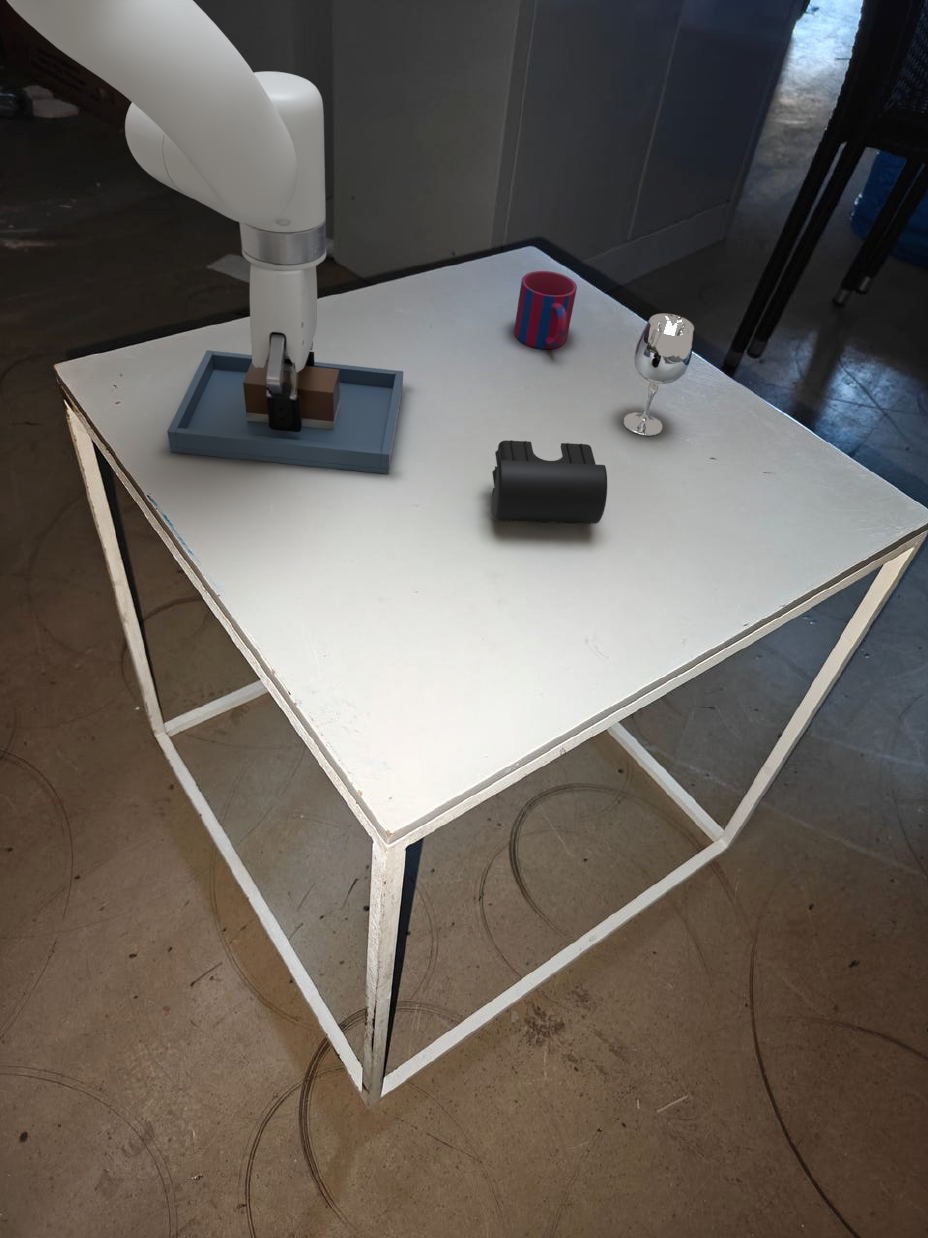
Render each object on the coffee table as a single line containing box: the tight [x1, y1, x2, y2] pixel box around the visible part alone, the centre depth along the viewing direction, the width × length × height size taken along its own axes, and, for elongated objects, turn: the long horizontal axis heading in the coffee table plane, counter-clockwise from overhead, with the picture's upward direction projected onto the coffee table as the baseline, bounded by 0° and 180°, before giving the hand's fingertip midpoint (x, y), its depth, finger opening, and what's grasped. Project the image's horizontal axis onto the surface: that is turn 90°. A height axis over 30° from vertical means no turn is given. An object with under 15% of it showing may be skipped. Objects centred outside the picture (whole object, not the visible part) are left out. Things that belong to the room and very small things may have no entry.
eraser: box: [243, 362, 340, 430], centre depth 89 cm, size 9×4×4 cm, turn 88°
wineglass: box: [622, 313, 695, 437], centre depth 92 cm, size 6×6×12 cm
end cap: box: [490, 439, 608, 525], centre depth 81 cm, size 10×7×7 cm
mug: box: [513, 270, 578, 350], centre depth 105 cm, size 7×10×7 cm
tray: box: [166, 349, 404, 475], centre depth 90 cm, size 22×16×2 cm
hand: (293, 405), depth 89 cm, fingers open, 7 cm apart
